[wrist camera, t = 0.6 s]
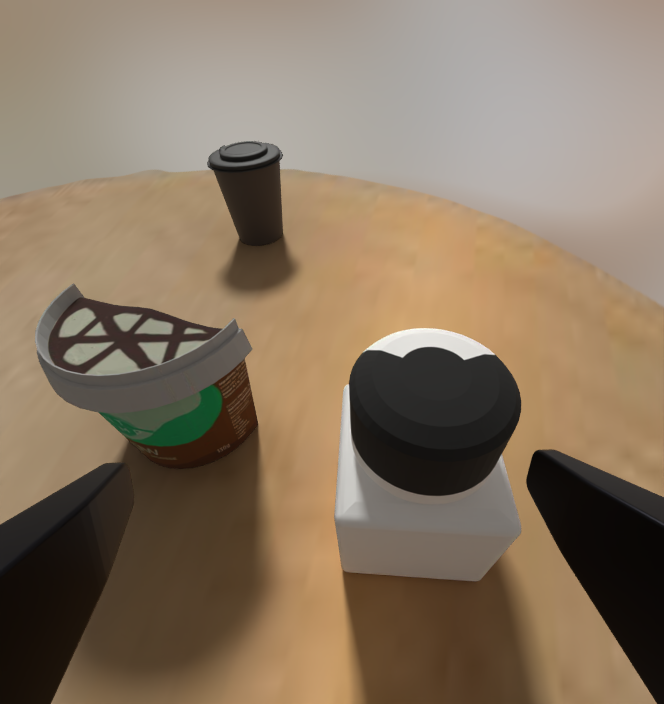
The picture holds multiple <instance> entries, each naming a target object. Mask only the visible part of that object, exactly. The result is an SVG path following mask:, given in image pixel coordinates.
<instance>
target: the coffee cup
mask: <svg viewBox="0 0 664 704" xmlns="http://www.w3.org/2000/svg"><path fill="white" fill-rule="evenodd" d="M282 156H283V154H282V152H281V151H280V150H279V148H278V147H277V146H275V145H273V144H269V143H262V142H256V141H246V142H238V143H234V144H230V145H228V146H222V147H221V148H220V149H219V150H217V151H215V152H214V153H212V154H211V155H210V156H209V161H208V162H207V164H208V167H209V168H210V169H212V170H214V173H215V175H216V178H217V181H218V183H219V186H220V188H221V191H222V194H223V196H224V199H225V201H226V204H227V206H228V209H229V212H230V214H231V217H232V219H233V222H234V225H235V227H236V230H237V232H238V235H239V238H240V240H241V241H242V242H243V243H245V244H247V245H253V246H260V245H266V244H270V243H272V242H275V241H276V240H278V239H279V238H280V237H281V236H282V234H283V225H282V205H281V184H280V165H279V164H280V163H279V161H280V160H281V159H282Z"/></svg>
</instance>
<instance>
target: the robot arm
mask: <svg viewBox="0 0 664 704" xmlns="http://www.w3.org/2000/svg"><path fill="white" fill-rule="evenodd" d="M526 483H527V488H528V490H529V492H530V494H531V496H532V498H533V500H534V502H535V504H536V506H537V508H538V510H539V512H540V514H541V515H542V517H543V519H544V521H545V523H546V525H547V527H548V529H549V531H550V533H551V535H552V537H553V539H554V540H555V542H556V544H557V546H558V548H559V550H560V551H561V553H562V555H563V556H564V558H565V560H566V561H567V563H568V565H569V566H570V568H571V569H572V571H573V572H574V574H575V576H576V577H577V579H578V580H579V582H580V583H581V585H582V587H583V588H584V590H585V591H586V593H587V594H588V596H589V598H590V599H591V601H592V602H593V604H594V605H595V607H596V609H597V610H598V612H599V613H600V615H601V616H602V618H603V620H604V621H605V623H606V624H607V626H608V627H609V629H610V630H611V632H612V634H613V635H614V637H615V638H616V640H617V641H618V643H619V645H620V646H621V648H622V649H623V651H624V652H625V654H626V656H627V657H628V659H629V660H630V662H631V663H632V665H633V667H634V668H635V670H636V671H637V673H638V674H639V676H640V678H641V679H642V681H643V682H644V684H645V685H646V687H647V688H648V690H649V692H650V693H651V695H652V696H653V698H654V699H655V701H656V703H657V704H664V497H662V496H659V495H657V494H655V493H653V492H650V491H648V490H646V489H643V488H641V487H639V486H637V485H634V484H632V483H630V482H627V481H625V480H623V479H621V478H618V477H616V476H614V475H611V474H609V473H607V472H605V471H602V470H600V469H598V468H595V467H593V466H591V465H589V464H586V463H584V462H582V461H579V460H577V459H575V458H572V457H570V456H568V455H566V454H563V453H561V452H559V451H556V450H552V449H551V450H537V451H535V452H534V454H533V456H532V460H531V463H530V467H529V471H528V475H527V479H526ZM133 503H134V491H133V486H132V481H131V475H130V470H129V467H128V465H127V464H125V463H106V464H103V465H101V466H99V467H98V468H96V469H94V470H93V471H91V472H89V473H87V474H86V475H84V476H82V477H81V478H79V479H77V480H76V481H74V482H72V483H70V484H69V485H67V486H65V487H64V488H62V489H60V490H58V491H57V492H55V493H53V494H52V495H50V496H48V497H47V498H45V499H43V500H41V501H40V502H38V503H36V504H35V505H33V506H31V507H30V508H28V509H26V510H24V511H23V512H21V513H19V514H18V515H16V516H14V517H13V518H11V519H9V520H7V521H6V522H4V523H2V524H1V525H0V704H51V702H52V700H53V698H54V696H55V693H56V691H57V689H58V687H59V685H60V683H61V680H62V678H63V676H64V674H65V672H66V669H67V667H68V665H69V663H70V661H71V659H72V656H73V654H74V652H75V650H76V648H77V646H78V643H79V641H80V639H81V637H82V635H83V633H84V630H85V628H86V626H87V624H88V622H89V620H90V617H91V615H92V613H93V611H94V609H95V607H96V604H97V602H98V600H99V598H100V596H101V593H102V591H103V589H104V587H105V584H106V582H107V579H108V577H109V574H110V571H111V569H112V566H113V563H114V560H115V557H116V554H117V551H118V548H119V545H120V542H121V540H122V537H123V534H124V531H125V528H126V525H127V522H128V519H129V516H130V513H131V510H132V507H133Z"/></svg>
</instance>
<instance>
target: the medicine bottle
mask: <svg viewBox="0 0 664 704" xmlns="http://www.w3.org/2000/svg"><path fill="white" fill-rule="evenodd" d="M520 413H521V398H520V392H519V389H518V386H517V383H516V381H515V380H514V378H513V376H512V374H511V373H510V371H509V370H508V369H507V367H506V366H505V365H504V364H503V362H502V361H501V360H500V359H499V358H498V357H497V356H496V355H495V354H494V353H493V352H491V351H490V350H489V349H488V348H486V347H485V346H483V345H482V344H480V343H478V342H476V341H475V340H473V339H471V338H468V337H466V336H463V335H461V334H458V333H454V332H451V331H446V330H440V329H431V328H419V329H409V330H404V331H400V332H396V333H393V334H391V335H388V336H386V337H384V338H382V339H380V340H379V341H377V342H375V343H374V344H372V345H371V346H370V347H368V348H367V349H366V350H365V351H364V352H363V353H362V354H361V355H360V357H359V358H358V359H357V361H356V363H355V364H354V366H353V369H352V372H351V374H350V380H349V385H346V386H345V388H344V391H343V403H342V417H341V431H340V445H339V459H338V473H337V487H336V501H335V515H334V518H335V525H336V532H337V539H338V546H339V553H340V560H341V566H342V569H343V570H344V571H346V572H351V573H365V574H379V575H393V576H407V577H421V578H435V579H449V580H463V581H480V580H481V579H482V577H483V576H484V575H485V574H486V573H487V572H488V571H489V569H490V568H491V567H492V566H493V565H494V564H495V562H496V561H497V560H498V559H499V558H500V557H501V556H502V554H503V553H504V552H505V551H506V550H507V549H508V548H509V546H510V545H511V544H512V543H513V542H514V541H515V539H516V538H517V537H518V536H519V535H520V533H521V524H520V520H519V516H518V512H517V509H516V505H515V501H514V498H513V494H512V490H511V486H510V483H509V479H508V475H507V471H506V468H505V464H504V460H503V457H502V453H503V451H504V449H505V447H506V445H507V443H508V441H509V439H510V437H511V436H512V434H513V432H514V430H515V428H516V426H517V423H518V421H519V417H520Z"/></svg>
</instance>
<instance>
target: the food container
mask: <svg viewBox="0 0 664 704" xmlns="http://www.w3.org/2000/svg"><path fill="white" fill-rule="evenodd" d="M35 343H36V346H37V355H38V359H39V362H40V364H41V366H42V368H43V370H44V372H45V374H46V376H47V378H48V380H49V382H50V384H51V386H52V387H53V389H54V390H55V392H56V393H57V394H58V395H59V396H60V397H61V398H63V399H64V400H65V401H66V402H68V403H70V404H72V405H74V406H77V407H79V408H82V409H86V410H90V411H94V412H99V413H100V414H101V415H102V416H103V417H104V418H105V419H106V420H107V421H108V422H109V423H111V424H112V425H113V426H114V427H115V428H116V429H117V430H118V431H119V432H120V433H121V434H123V435H124V436H125V437H126V438H127V439H128V440H129V441H130V442H131V443H132V444H133V445H135V446H136V447H137V448H138V449H139V450H140V451H141V452H142V453H143V454H144V455H145V456H147V457H148V458H149V459H150V460H151V461H152V462H154V463H156V464H158V465H160V466H164V467H168V468H176V469H184V468H193V467H198V466H203V465H205V464H208V463H211V462H214V461H216V460H218V459H220V458H222V457H224V456H226V455H227V454H229V453H230V452H232V451H233V450H235V449H236V448H237V447H238V446H239V445H241V444H242V443H243V442H244V441H245V440H246V439H247V438H248V437H249V436H250V434H251V433H252V432H253V430H254V429H255V428H256V426H257V425H258V421H257V416H256V411H255V406H254V402H253V397H252V392H251V387H250V382H249V377H248V373H247V368H246V363H245V357H246V356H247V355H248V354H249V353H250V351H251V350H252V347H251V345H250V343H249V341H248V339H247V337H246V335H245V333H244V331H243V329H239V328H238V325H237V323H236V320H235V319H234V318H233V319H232V321H231V322H230V323H229V324H228V325H227V326H226V327H225V328H224V329H219V328H211V327H207V326H203V325H199V324H195V323H191V322H188V321H184V320H182V319H179V318H176V317H173V316H171V315H168V314H165V313H162V312H159V311H156V310H153V309H149V308H141V307H129V306H118V305H112V304H108V303H103V302H99V301H95V300H91V299H87V298H84V296H83V295H82V294H81V292H80V291H79V290H78V288H77V287H76V286H75V284H72V285H70V286H69V287H68V288H66V289H65V290H64V291H63V292H62V293H60V294H59V295H58V296H57V297H56V298H55V299H54V300H53V301H52V302H51V304H50V305H49V306H48V307H47V309H46V310H45V311H44V313H43V315H42V316H41V318H40V320H39V322H38V325H37V328H36V332H35Z"/></svg>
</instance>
